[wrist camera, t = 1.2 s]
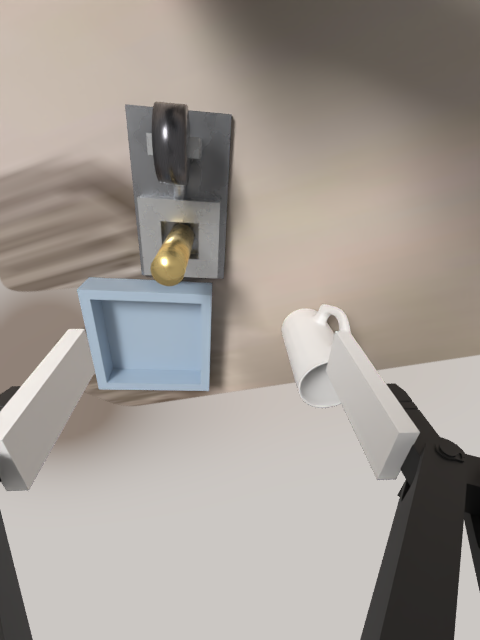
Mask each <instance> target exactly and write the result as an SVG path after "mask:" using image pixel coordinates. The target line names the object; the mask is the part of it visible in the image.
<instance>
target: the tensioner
mask: <svg viewBox="0 0 480 640" xmlns="http://www.w3.org/2000/svg"><path fill="white" fill-rule="evenodd" d="M125 109H126V119H127V129H128V140H129V150H130V160H131V170H132V180H133V190H134V200H135V210H136V220H137V230H138V240H139V250H140V260H141V271H142V275H152V274H151V270H150V268H151V264H152V262H153V260H154V258H155V256H156V255H157V253H158V251H159V250H160V248H161V246H162V244H163V243H164V241H165V239H166V238H167V236H168V234H169V232H170V231H171V229H172V228H173V227H174V226H175V225H177V224H186V225H188V226H189V227H190V228H191V229H192V230H193V232H194V242H193V246H192V249H191V253H190V256H189V260H188V264H187V267H186V271H185V274H184V277H196V278H222V279H224V261H225V241H226V220H227V199H228V178H229V158H230V137H231V116H232V114H221V113H210V112H200V111H189V110H188V106H187V105H185V104H175V103H164V102H155V103H154V106H153V107H146V106H135V105H125Z"/></svg>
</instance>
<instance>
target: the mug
mask: <svg viewBox="0 0 480 640" xmlns="http://www.w3.org/2000/svg"><path fill="white" fill-rule="evenodd" d="M330 315H334V316H335V317H336V318H337V320H338V323H339V331H349V332H350V333H351V330H350V325H349V321H348V318H347V316H346V314H345V313H344V311H343V310H341V309H340V308H338V307H335V306H331V305H326V304H323V305H321V306H320V308H319V310H318V311H316V310H314V309H309V308H303V309H298V310H296V311H294V312H292V313H290V314H289V315H288V316H287V317H286V318H285V320H284V321H283V324H282V329H281V331H282V336H283V339H284V343H285V347H286V350H287V353H288V357H289V360H290V364H291V368H292V371H293V375H294V378H295V382H296V385H297V388H298V392H299V395H300V397H301V399H302V400H303V401H304V402H305V403H307V404H308V405H310V406H313V407H318V408H328V407H333V406H337V405H339V404H341V402H340V400H339V398H338V396H337V393H336V391H335V389H334V387H333V385H332V383H331V381H330V379H329V377H328V374H327V372H326V368H327V364H328V360H329V356H330V351H331V347H332V343H333V339H334V335H335V334H334V333H333V331H332V329H331V328H330V326H329V325H328V323H327V322H326V321H327V319H328V318H329V316H330Z"/></svg>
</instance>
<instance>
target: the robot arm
mask: <svg viewBox="0 0 480 640" xmlns="http://www.w3.org/2000/svg"><path fill="white" fill-rule="evenodd" d="M326 372H327V374H328V377H329V379H330V381H331V383H332V385H333V387H334V389H335V391H336V393H337V396H338V398H339V400H340V402H341V404H342V406H343V408H344V410H345V413H346V414H347V417H348V419H349V421H350V423H351V425H352V427H353V429H354V431H355V434H356V436H357V438H358V440H359V442H360V444H361V446H362V449H363V451H364V453H365V455H366V457H367V459H368V461H369V463H370V465H371V468H372V470H373V472H374V474H375V476H376V478H377V480H390V479H396V478H397V476H398V474H399V472H400V470H401V471H402V473H403V474H404V476H405V478H406V481H405V482H404V484H403V486H402V488H401V490H400V492H399V493H398V496H399V497H400V499H399V502H398V506H397V510H396V513H395V517H394V521H393V524H392V528H391V531H390V535H389V538H388V542H387V546H386V549H385V553H384V556H383V560H382V564H381V567H380V571H379V574H378V578H377V582H376V585H375V589H374V592H373V596H372V600H371V603H370V607H369V610H368V614H367V618H366V621H365V625H364V628H363V632H362V636H361V640H454V631H455V619H456V607H457V595H458V583H459V571H460V559H461V547H462V534H463V522H464V521H465V526H466V530H467V535H468V540H469V544H470V549H471V553H472V558H473V563H474V567H475V572H476V576H477V581H478V586H479V590H480V458H479V457H475V456H471V455H467V454H465V453H464V452H463V450H462V449H461V448H460V447H458V446H457V445H456V444H454V443H453V442H451V441H449V440H447V439H444V438H441V437H439V435H438V434H437V433H436V432H435V430H434V429H433V427H432V426H431V425H430V424H429V422H428V421H427V420H426V418H425V417H424V416H423V414H422V413H421V412H420V410H418V408H417V406H416V405H415V404H414V403H413V402H412V400H411V398H410V397H409V396H408V395H407V393H406V392H405V391H404V390H403V389H401V388H400V387H399V386H397V385H396V384H386V383H385V382H384V380H383V379H382V377H381V376H380V375H379V373H378V372H377V370H376V369H375V367H374V366H373V365H372V363H371V362H370V360H369V359H368V357H367V356H366V355H365V353H364V352H363V350H362V349H361V347H360V346H359V345H358V343H357V342H356V340H355V339H354V337H353V336H352V335H351V333H350V332H349V331H335V335H334V339H333V343H332V347H331V351H330V356H329V360H328V364H327V368H326ZM94 373H95V369H94V365H93V361H92V357H91V353H90V349H89V345H88V341H87V337H86V333H85V329H69V330H68V331H67V332H66V333H65V334H64V335H63V337H62V338H61V339H60V340H59V341H58V343H57V344H56V345H55V346H54V348H53V349H52V350H51V351H50V353H49V354H48V355H47V356H46V357H45V358H44V360H43V361H42V362H41V363H40V365H39V366H38V367H37V368H36V369H35V370H34V372H33V373H32V374H31V375H30V377H29V378H28V379H27V380H26V381H25V382H24V384H23V385H22V386H17V387H16V386H14V387H13V386H12V387H11V388H9V389H8V390H6V391H5V392H4V393H2V394H0V482H2V484H3V486H4V487H5V489H6V490H7V491H22V490H29V489H30V487H31V486H32V484H33V482H34V480H35V478H36V477H37V475H38V473H39V471H40V469H41V467H42V466H43V464H44V462H45V460H46V459H47V457H48V455H49V453H50V451H51V450H52V448H53V446H54V444H55V443H56V441H57V439H58V437H59V435H60V433H61V431H62V430H63V428H64V426H65V425H66V423H67V421H68V419H69V417H70V415H71V414H72V412H73V410H74V408H75V407H76V405H77V403H78V401H79V399H80V398H81V396H82V394H83V392H84V391H85V389H86V387H87V385H88V383H89V382H90V380H91V378H92V376H93V374H94ZM0 640H33V639H32V635H31V631H30V627H29V623H28V619H27V615H26V612H25V607H24V603H23V599H22V595H21V591H20V588H19V583H18V579H17V575H16V571H15V567H14V563H13V560H12V555H11V551H10V547H9V543H8V540H7V535H6V532H5V527H4V523H3V519H2V515H1V511H0Z"/></svg>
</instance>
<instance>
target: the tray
mask: <svg viewBox="0 0 480 640" xmlns="http://www.w3.org/2000/svg"><path fill="white" fill-rule="evenodd" d="M77 292H78V296H79V301H80V305H81V310H82V314H83V319H84V323H85V328H86V332H87V337H88V341H89V346H90V350H91V355H92V359H93V364H94V368H95V373H96V377H97V382H98V386H99V389H114V390H186V391H209V381H210V350H211V314H212V283H206V282H184V281H181V282H180V283H178V284H177V285H174V286H164V285H161V284H159V283H158V282H157V281H156V280H139V279H117V278H94V277H89V278H88V279H87V280H86V281H85V282H84V283H83V284H82V285H81V286H80V287H79V288H78V289H77Z"/></svg>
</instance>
